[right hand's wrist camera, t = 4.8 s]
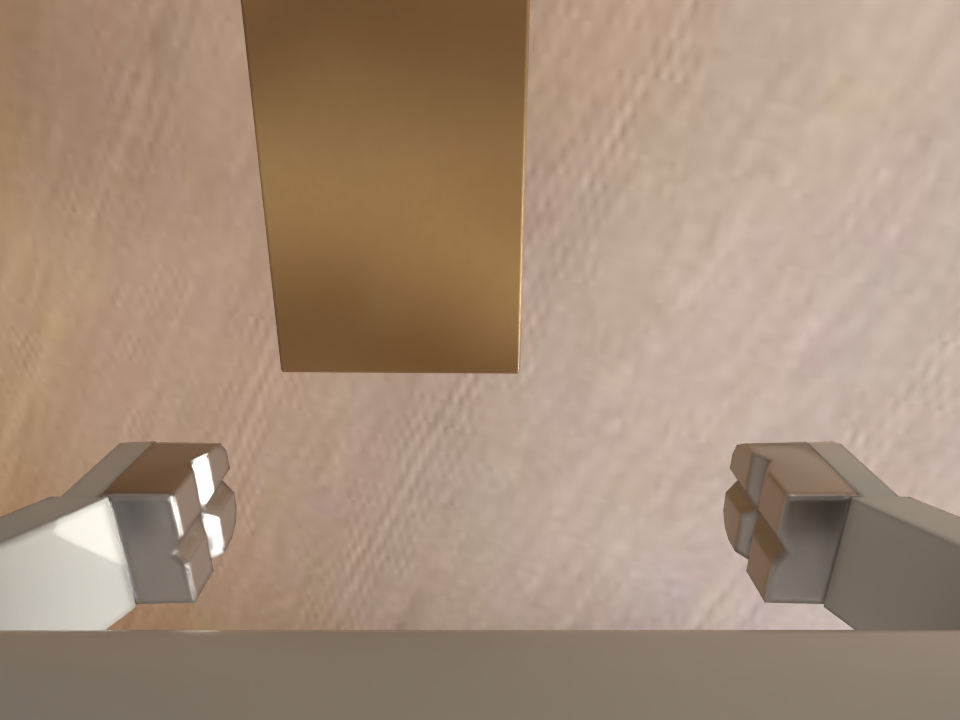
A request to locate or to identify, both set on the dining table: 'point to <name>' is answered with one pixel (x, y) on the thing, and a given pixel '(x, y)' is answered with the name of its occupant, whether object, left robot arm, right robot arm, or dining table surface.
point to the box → (392, 180)
